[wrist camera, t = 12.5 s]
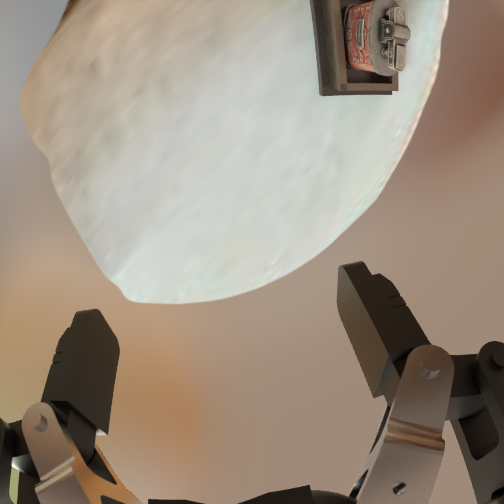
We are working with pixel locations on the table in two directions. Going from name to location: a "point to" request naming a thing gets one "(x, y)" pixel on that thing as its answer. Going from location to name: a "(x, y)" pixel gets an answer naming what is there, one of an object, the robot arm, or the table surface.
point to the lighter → (375, 36)
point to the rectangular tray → (342, 55)
